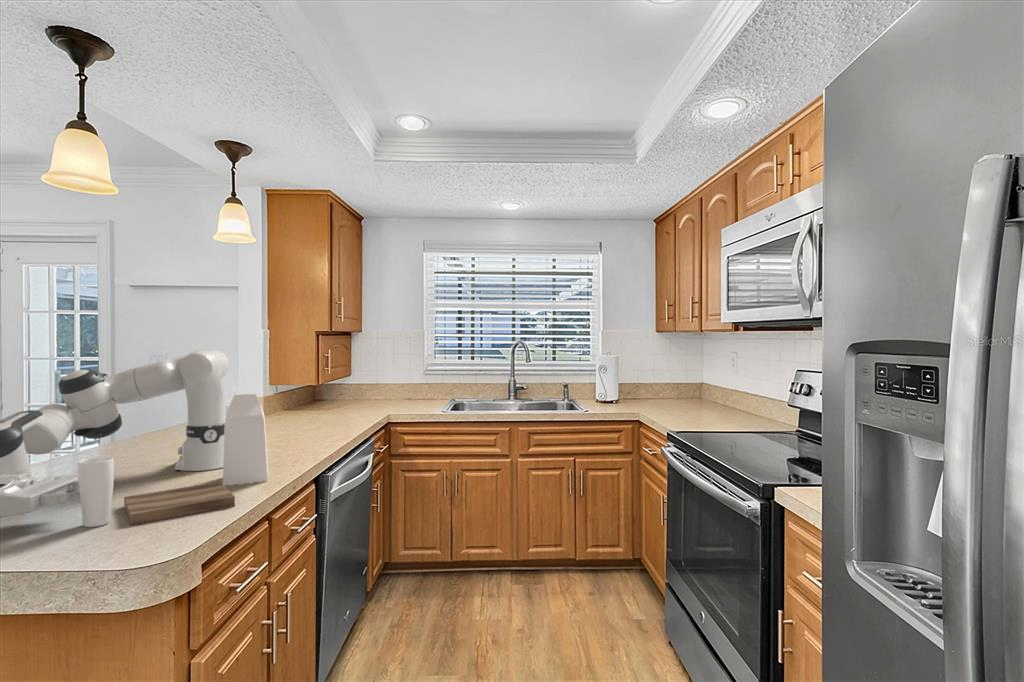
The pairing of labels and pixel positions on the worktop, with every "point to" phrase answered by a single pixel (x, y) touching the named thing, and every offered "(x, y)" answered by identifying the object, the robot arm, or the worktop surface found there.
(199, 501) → the walnut board
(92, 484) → the drinking glass
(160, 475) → the worktop surface
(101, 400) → the robot arm
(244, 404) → the milk
